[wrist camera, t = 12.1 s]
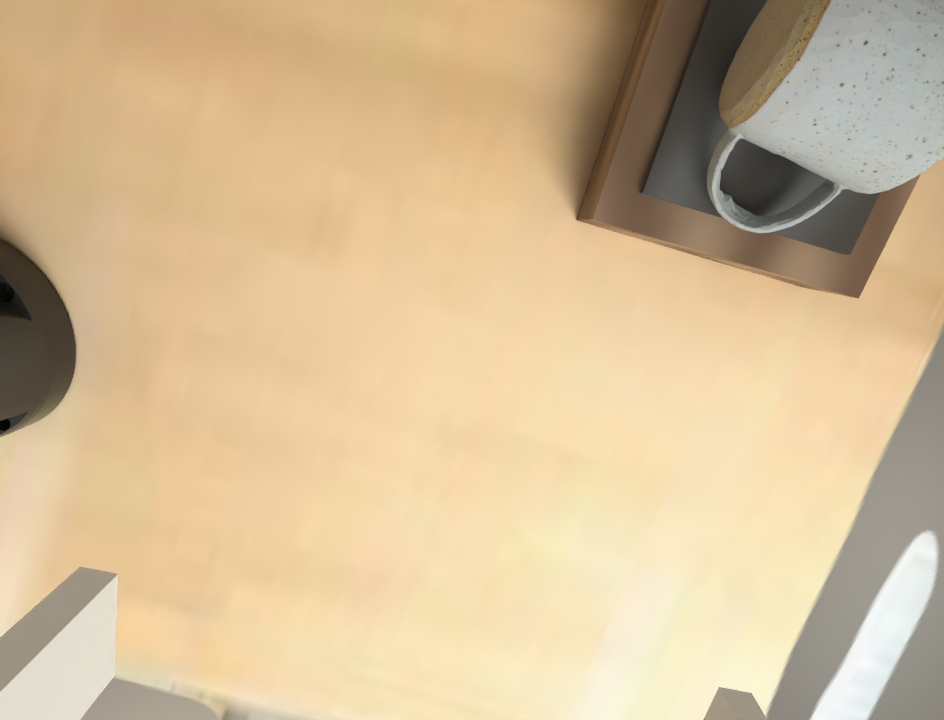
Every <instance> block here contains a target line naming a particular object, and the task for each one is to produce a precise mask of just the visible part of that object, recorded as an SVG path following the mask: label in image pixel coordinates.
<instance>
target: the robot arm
mask: <svg viewBox="0 0 944 720" xmlns="http://www.w3.org/2000/svg"><path fill="white" fill-rule="evenodd" d="M75 354H76V353H75V342H74V336H73V331H72V327H71V324H70V321H69V318H68V315H67V313H66V310H65V308H64V306H63V304H62V302H61V300H60V298H59V297H58V295H57V293H56V292H55V290H54V289H53V287H52V286H51V284H50V283H49V282H48V280H47V279H46V278H45V277H44V275H43V274H42V273H41V272H40V271H39V270H38V269H37V268H36V267H35V266H34V265H33V264H32V263H31V262H30V261H29V260H28V259H27V258H26V257H25V256H23V255H22V254H21V253H20V252H18V251H17V250H16V249H14V248H13V247H11V246H10V245H8V244H7V243H5V242H3V241H2V240H0V437H1V436H5V435H7V434H10V433H12V432H14V431H17V430H19V429H21V428H24V427H26V426H28V425H30V424H33V423H35V422H37V421H39V420H41V419H42V418H44V417H45V416H47V415H48V414H49V413H50V412H52V411H53V410H54V409H55V408H56V407H57V406H58V405H59V403H60V402H61V401H62V399H63V398H64V396H65V395H66V393H67V391H68V389H69V386H70V384H71V381H72V378H73V374H74V368H75ZM117 589H118V574H116V573H110V572H105V571H100V570H94V569H89V568H84V567H79V568H78V569H77V570H76V571H75V572H74V573H73V574H71V575H70V576H69V577H68V578H67V579H66V580H65V581H64V582H62V583H61V584H60V585H59V586H58V587H57V588H56V589H54V590H53V591H52V592H51V593H50V594H49V595H48V596H47V597H45V598H44V599H43V600H42V601H41V602H40V603H39V604H38V605H36V606H35V607H34V608H33V609H32V610H31V611H30V612H29V613H27V614H26V615H25V616H24V617H23V618H22V619H21V620H20V621H18V622H17V623H16V624H15V625H14V626H13V627H12V628H11V629H9V630H8V631H7V632H6V633H5V634H4V635H3V636H2V637H0V720H80V719H81V718H82V716H83V715H84V714H85V712H86V711H87V710H88V709H89V707H90V706H91V705H92V704H93V702H94V701H95V700H96V698H97V697H98V696H99V695H100V693H101V692H102V691H103V690H104V688H105V687H106V686H107V684H108V683H109V682H110V681H111V679H112V678H113V677H114V669H115V643H116V616H117ZM704 720H767V719H766V717H765V715H764V714H763V712H762V710H761V708H760V707H759V705H758V703H757V702H756V700H755V698H754V697H753V695H752V693H748V692H742V691H737V690H732V689H726V688H721V687H719V689H718V691H717V693H716V695H715V697H714V699H713V701H712V703H711V705H710V707H709V709H708V711H707V714H706V716H705V718H704Z"/></svg>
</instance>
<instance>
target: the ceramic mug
mask: <svg viewBox="0 0 944 720" xmlns="http://www.w3.org/2000/svg"><path fill="white" fill-rule="evenodd" d="M719 111H720V117H721V119H722V120H723V122H724V123H725V124H726V125H727V126H728V130H727V132H726V133H725V134H724V136H723V137H722V139H721V140H720V141H719V143H718V144H717V146H716V148H715V150H714V153H713V156H712V159H711V161H710V164H709V167H708V172H707V190H708V194H709V197H710V199H711V201H712V203H713V205H714V206H715V208H716V210H717V212H718V213H719V214H720V215H721V216H722V217H723V218H724V219H726V220H727V221H728V222H730V223H731V224H733V225H734V226H736V227H738V228H740V229H742V230H746V231H751V232H755V233H769V232H774V231H778V230H782V229H785V228H788V227H791V226H793V225H795V224H797V223H800V222H802V221H804V220H805V219H807V218H809V217H810V216H812V215H813V214H815V213H817V212H818V211H819V210H820V209H822V208H823V207H824V206H825V205H827V204H828V203H829V202H831V201H832V200H833V199H834V198H835V197H836V196H837V195H839V194H840V193H841V191H842V190H844V189H849V190H852V191H855V192H859V193H866V194H874V193H879V192H883V191H888V190H890V189H892V188H894V187H897V186H899V185H901V184H903V183H905V182H907V181H909V180H911V179H912V178H914V177H916V176H918V175H920V174H921V173H922V172H923V171H925V170H926V169H928V168H929V167H931V166H932V165H934V164H935V163H936V162H937V161H939V160H940V159H941V158H942V157H944V0H768V1H767V2H766V4H765V5H764V6H763V8H762V9H761V11H760V12H759V14H758V15H757V17H756V19H755V20H754V22H753V23H752V25H751V27H750V28H749V30H748V32H747V34H746V36H745V37H744V39H743V41H742V43H741V45H740V47H739V48H738V50H737V52H736V54H735V57H734V59H733V61H732V63H731V65H730V67H729V69H728V72H727V74H726V77H725V80H724V82H723V85H722V88H721V93H720V97H719ZM742 138H743V139H745V140H747V141H749V142H751V143H753V144H755V145H757V146H759V147H762V148H764V149H766V150H768V151H770V152H771V153H773V154H778V155H781V156H783V157H785V158H787V159H789V160H791V161H793V162H795V163H796V164H798V165H800V166H802V167H804V168H806V169H807V170H809V171H811V172H813V173H816V174H818V175H820V176H822V177H824V178H826V180H825V182H824V183H823V184H822V185H820V186H819V187H818V188H817V189H816V190H815V191H814V192H813V193H812V194H810V195H809V196H808V197H807V198H805V199H804V200H803V201H801V202H800V203H798V204H797V205H795V206H794V207H792V208H791V209H789V210H786V211H784V212H782V213H779V214H777V215H773V216H769V217H764V216H756V215H754V214H753V213H751V212H749V211H747V210H745V209H743V208H741V207H740V206H738V205H737V204H736V203H734V202H733V200H732V197H731V196H730V195H728V194H723V192H722V191H721V190H720V178H721V171H722V169H723V167H724V165H725V162H726V160H727V158H728V156H729V153H730V152H731V151H732V149H733V148H734V145H735V143H736V142H737V141H738V140H739V139H742Z"/></svg>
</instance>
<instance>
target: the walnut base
mask: <svg viewBox="0 0 944 720" xmlns="http://www.w3.org/2000/svg"><path fill="white" fill-rule="evenodd" d="M767 1H768V0H648V3H647V6H646V9H645V12H644V15H643V18H642V21H641V24H640V27H639V30H638V33H637V36H636V40H635V43H634V46H633V49H632V52H631V55H630V58H629V61H628V64H627V67H626V70H625V73H624V76H623V79H622V82H621V85H620V88H619V91H618V95H617V98H616V101H615V104H614V107H613V110H612V113H611V116H610V119H609V122H608V125H607V128H606V131H605V134H604V137H603V140H602V143H601V146H600V150H599V153H598V156H597V159H596V162H595V165H594V168H593V171H592V174H591V177H590V180H589V183H588V186H587V189H586V192H585V195H584V198H583V201H582V205H581V208H580V211H579V214H578V217H577V220H578V221H581V222H584V223H588V224H591V225H595V226H598V227H601V228H605V229H608V230H611V231H615V232H618V233H622V234H625V235H628V236H632V237H635V238H638V239H642V240H645V241H649V242H652V243H655V244H659V245H662V246H665V247H669V248H672V249H676V250H679V251H682V252H686V253H689V254H692V255H696V256H699V257H703V258H706V259H709V260H713V261H716V262H719V263H723V264H726V265H730V266H733V267H736V268H740V269H743V270H746V271H750V272H753V273H757V274H760V275H763V276H767V277H770V278H773V279H777V280H780V281H784V282H787V283H790V284H794V285H797V286H800V287H804V288H809V289H814V290H819V291H824V292H829V293H834V294H839V295H844V296H849V297H854V298H859V297H860V295H861V293H862V291H863V289H864V287H865V285H866V283H867V281H868V279H869V276H870V274H871V272H872V270H873V268H874V266H875V264H876V262H877V260H878V258H879V256H880V254H881V252H882V250H883V248H884V246H885V244H886V242H887V240H888V238H889V236H890V234H891V232H892V230H893V228H894V226H895V224H896V222H897V220H898V218H899V216H900V214H901V212H902V210H903V208H904V206H905V204H906V202H907V200H908V198H909V196H910V194H911V192H912V190H913V188H914V186H915V184H916V182H917V180H918V178H919V176H920V175H918V176H916V177H914V178H912V179H911V180H909V181H907V182H905V183H903V184H901V185H899V186H897V187H894V188H892V189H890V190H888V191H883V192H879V193H874V194H866V193H859V192H855V191H852V190H849V189H844V190H842V191H841V193H840V194H839V195H837V196H836V197H835V198H834V199H833V200H832V201H831V202H829V203H828V204H827V205H825V206H824V207H823V208H822V209H820V210H819V211H818V212H817V213H815V214H813V215H812V216H810V217H809V218H807V219H805V220H804V221H802V222H800V223H797V224H795V225H793V226H791V227H788V228H785V229H782V230H778V231H774V232H769V233H755V232H751V231H746V230H742V229H740V228H738V227H736V226H734V225H733V224H731V223H730V222H728V221H727V220H726V219H724V218H723V217H722V216H721V215H720V214H719V213H718V212H717V210H716V208H715V206H714V205H713V203H712V201H711V199H710V197H709V194H708V190H707V172H708V167H709V164H710V161H711V159H712V156H713V153H714V150H715V148H716V146H717V144H718V143H719V141H720V140H721V139H722V137H723V136H724V134H725V133H726V132H727V130H728V126H727V125H726V124H725V123H724V122H723V120H722V119H721V117H720V111H719V97H720V93H721V88H722V85H723V82H724V80H725V77H726V74H727V72H728V69H729V67H730V65H731V63H732V61H733V59H734V57H735V54H736V52H737V50H738V48H739V47H740V45H741V43H742V41H743V39H744V37H745V36H746V34H747V32H748V30H749V28H750V27H751V25H752V23H753V22H754V20H755V19H756V17H757V15H758V14H759V12H760V11H761V9H762V8H763V6H764V5H765V4H766V2H767ZM825 180H826V178H824V177H822V176H820V175H818V174H816V173H813V172H811V171H809V170H807V169H806V168H804V167H802V166H800V165H798V164H796V163H795V162H793V161H791V160H789V159H787V158H785V157H783V156H781V155H778V154H773V153H771V152H770V151H768V150H766V149H764V148H762V147H759V146H757V145H755V144H753V143H751V142H749V141H747V140H745V139H743V138H742V139H739V140H738V141H737V142H736V143H735V145H734V148H733V149H732V151H731V152H730V153H729V156H728V158H727V160H726V162H725V165H724V167H723V169H722V171H721V178H720V190H721V191H722V192H723V194H728V195H730V196H731V197H732V200H733V202H734V203H736V204H737V205H738V206H740V207H741V208H743V209H745V210H747V211H749V212H751V213H753V214H754V215H756V216H764V217H769V216H773V215H777V214H779V213H782V212H784V211H786V210H789V209H791V208H792V207H794V206H795V205H797V204H798V203H800V202H801V201H803V200H804V199H805V198H807V197H808V196H809V195H810V194H812V193H813V192H814V191H815V190H816V189H817V188H818V187H819V186H820V185H822V184H823V183H824V182H825Z"/></svg>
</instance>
